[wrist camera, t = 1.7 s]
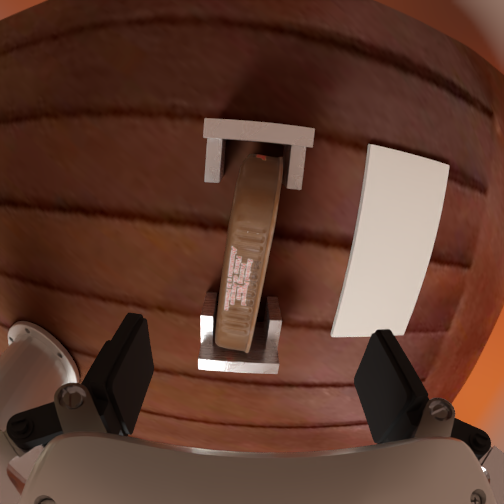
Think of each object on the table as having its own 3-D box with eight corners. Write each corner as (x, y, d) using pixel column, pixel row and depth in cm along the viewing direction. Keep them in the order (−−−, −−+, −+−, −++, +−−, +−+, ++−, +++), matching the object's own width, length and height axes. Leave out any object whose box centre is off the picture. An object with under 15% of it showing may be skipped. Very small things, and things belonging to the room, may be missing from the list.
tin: (250, 315, 28) (252, 376, 20) (218, 310, 28) (209, 372, 20) (280, 155, 23) (298, 162, 15) (241, 149, 22) (239, 151, 14)
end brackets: (297, 131, 22) (314, 128, 16) (271, 332, 29) (277, 373, 23) (214, 124, 21) (204, 118, 16) (206, 328, 28) (198, 369, 23)
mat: (401, 331, 29) (403, 334, 29) (330, 333, 29) (331, 337, 28) (446, 164, 22) (449, 165, 22) (368, 143, 22) (370, 144, 21)
